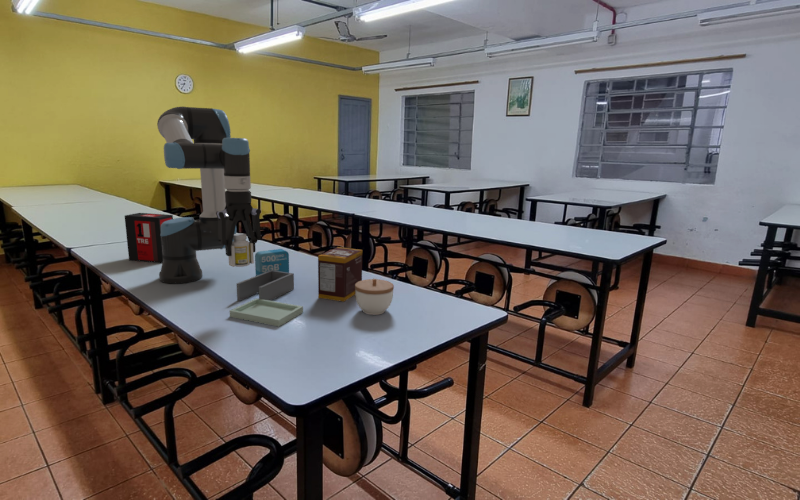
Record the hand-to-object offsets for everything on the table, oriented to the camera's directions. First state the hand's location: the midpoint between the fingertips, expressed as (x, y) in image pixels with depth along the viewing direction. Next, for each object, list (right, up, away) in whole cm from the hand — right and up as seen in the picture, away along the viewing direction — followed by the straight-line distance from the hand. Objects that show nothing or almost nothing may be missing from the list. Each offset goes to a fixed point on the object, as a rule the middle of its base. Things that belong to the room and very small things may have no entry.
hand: (241, 264), depth 141 cm
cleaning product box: (-61, 0, +60) cm, 85 cm away
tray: (+8, -16, 0) cm, 18 cm away
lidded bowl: (+41, -16, +7) cm, 45 cm away
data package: (0, -8, +35) cm, 36 cm away
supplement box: (+28, -12, +23) cm, 38 cm away
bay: (+3, -11, +19) cm, 23 cm away
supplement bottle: (0, -1, 0) cm, 1 cm away
